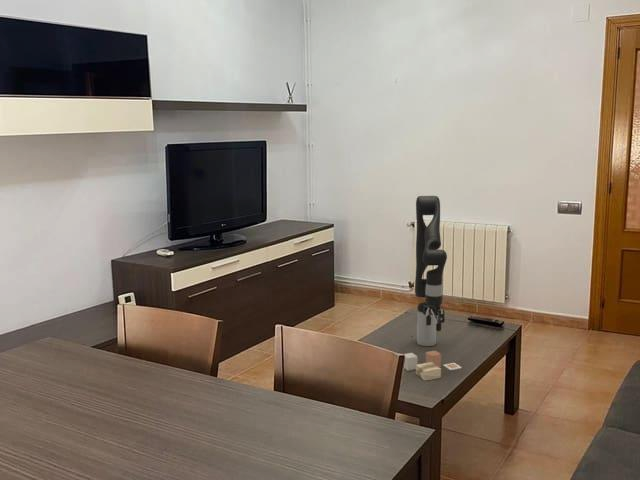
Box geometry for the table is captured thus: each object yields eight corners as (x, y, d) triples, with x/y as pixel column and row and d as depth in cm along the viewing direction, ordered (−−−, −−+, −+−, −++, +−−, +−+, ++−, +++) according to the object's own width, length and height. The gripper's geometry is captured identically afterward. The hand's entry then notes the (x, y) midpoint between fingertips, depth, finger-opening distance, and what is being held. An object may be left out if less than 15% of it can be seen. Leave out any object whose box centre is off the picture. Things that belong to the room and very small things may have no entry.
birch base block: (415, 374, 275) (415, 364, 275) (431, 371, 278) (432, 362, 277) (424, 381, 268) (424, 371, 267) (440, 378, 271) (441, 368, 270)
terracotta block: (425, 364, 285) (425, 352, 284) (434, 362, 287) (435, 350, 286) (431, 368, 281) (431, 355, 280) (440, 366, 283) (441, 354, 281)
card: (443, 365, 284) (443, 364, 283) (454, 363, 286) (454, 362, 286) (450, 370, 278) (450, 369, 278) (461, 368, 280) (461, 366, 280)
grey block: (402, 366, 283) (402, 354, 282) (411, 365, 285) (412, 352, 284) (407, 370, 279) (407, 358, 278) (417, 368, 281) (417, 356, 279)
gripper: (450, 296, 272) (449, 331, 275) (432, 288, 285) (432, 322, 288) (435, 298, 269) (434, 334, 273) (418, 290, 282) (418, 324, 286)
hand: (433, 327), depth 280 cm, fingers open, 8 cm apart
